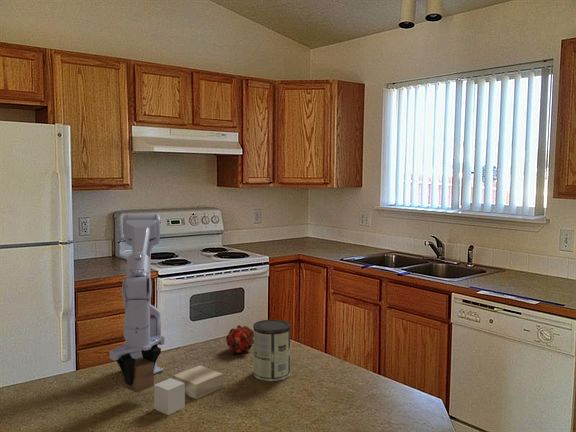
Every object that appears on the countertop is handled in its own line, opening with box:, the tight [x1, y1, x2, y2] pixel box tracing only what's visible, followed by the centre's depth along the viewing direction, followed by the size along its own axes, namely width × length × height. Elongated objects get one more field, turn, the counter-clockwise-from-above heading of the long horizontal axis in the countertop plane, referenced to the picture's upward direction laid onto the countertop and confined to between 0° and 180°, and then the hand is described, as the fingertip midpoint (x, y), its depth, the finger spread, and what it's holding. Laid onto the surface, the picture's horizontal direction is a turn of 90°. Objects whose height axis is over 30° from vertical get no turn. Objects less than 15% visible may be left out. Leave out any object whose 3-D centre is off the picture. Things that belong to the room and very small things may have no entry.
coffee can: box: [252, 319, 292, 382], centre depth 143 cm, size 10×10×14 cm
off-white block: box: [153, 377, 186, 416], centre depth 122 cm, size 5×5×6 cm
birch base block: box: [172, 365, 224, 400], centre depth 134 cm, size 9×9×4 cm
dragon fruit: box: [225, 324, 254, 355], centre depth 161 cm, size 8×8×12 cm
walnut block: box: [123, 357, 155, 394], centre depth 126 cm, size 5×5×6 cm
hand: (138, 380), depth 126 cm, fingers closed on walnut block, 5 cm apart
